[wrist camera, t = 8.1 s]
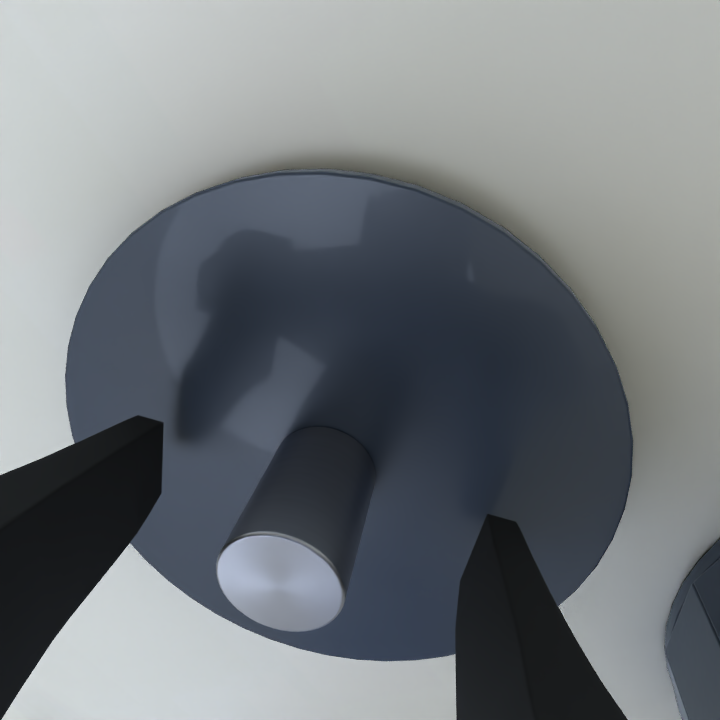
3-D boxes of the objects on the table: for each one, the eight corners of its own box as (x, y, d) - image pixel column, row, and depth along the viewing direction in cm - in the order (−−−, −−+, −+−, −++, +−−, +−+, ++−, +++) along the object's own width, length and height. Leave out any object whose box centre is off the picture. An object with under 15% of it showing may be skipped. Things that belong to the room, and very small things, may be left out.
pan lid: (335, 680, 18) (295, 850, 14) (8, 401, 15) (-159, 510, 11) (742, 494, 12) (876, 689, 8) (336, 0, 9) (236, -73, 5)
